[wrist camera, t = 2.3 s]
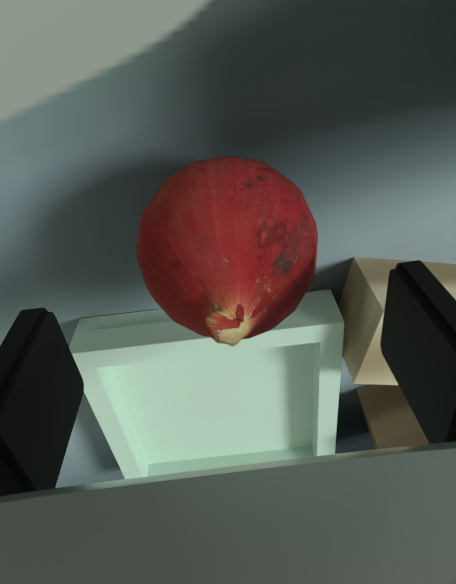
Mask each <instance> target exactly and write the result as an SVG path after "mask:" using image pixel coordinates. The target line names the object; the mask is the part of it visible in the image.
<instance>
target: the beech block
mask: <svg viewBox="0 0 456 584" xmlns="http://www.w3.org/2000/svg"><path fill="white" fill-rule="evenodd" d="M402 262H410V261H403V260H388V259H373V258H359V257H354V258H353V261H352V264H351V267H350V270H349V273H348V276H347V279H346V282H345V285H344V288H343V291H342V294H341V297H340V300H339V303H338V308H339V310H340V313H341V315H342V317H343V320H344V336H343V349H342V354H343V357H344V359H345V362H346V365H347V367H348V370H349V373H350V375H351V378H352V380H353V383H354V384H376V385H398V383H397V381H396V379H395V377H394V376H393V374H392V372H391V370H390V368H389V366H388V364H387V362H386V360H385V359H384V357H383V355H382V352H381V347H380V341H381V333H382V325H383V317H384V309H385V302H386V294H387V286H388V278H389V272H390V270H391V269H395V267H396V265H397V264H398V263H402ZM423 263H424V265H425V266H426V267H427V268H428V269H429V270H430V271H431V273H432V274H433V275H434V276H435V277H436V278H437V279H438V280H439V282H440V283H441V284H442V285H443V286H444V287H445V288H446V290H447V291H448V292H449V293H450V294H451V295H452V296H453V298H454V299H455V300H456V264H446V263H432V262H423Z"/></svg>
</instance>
